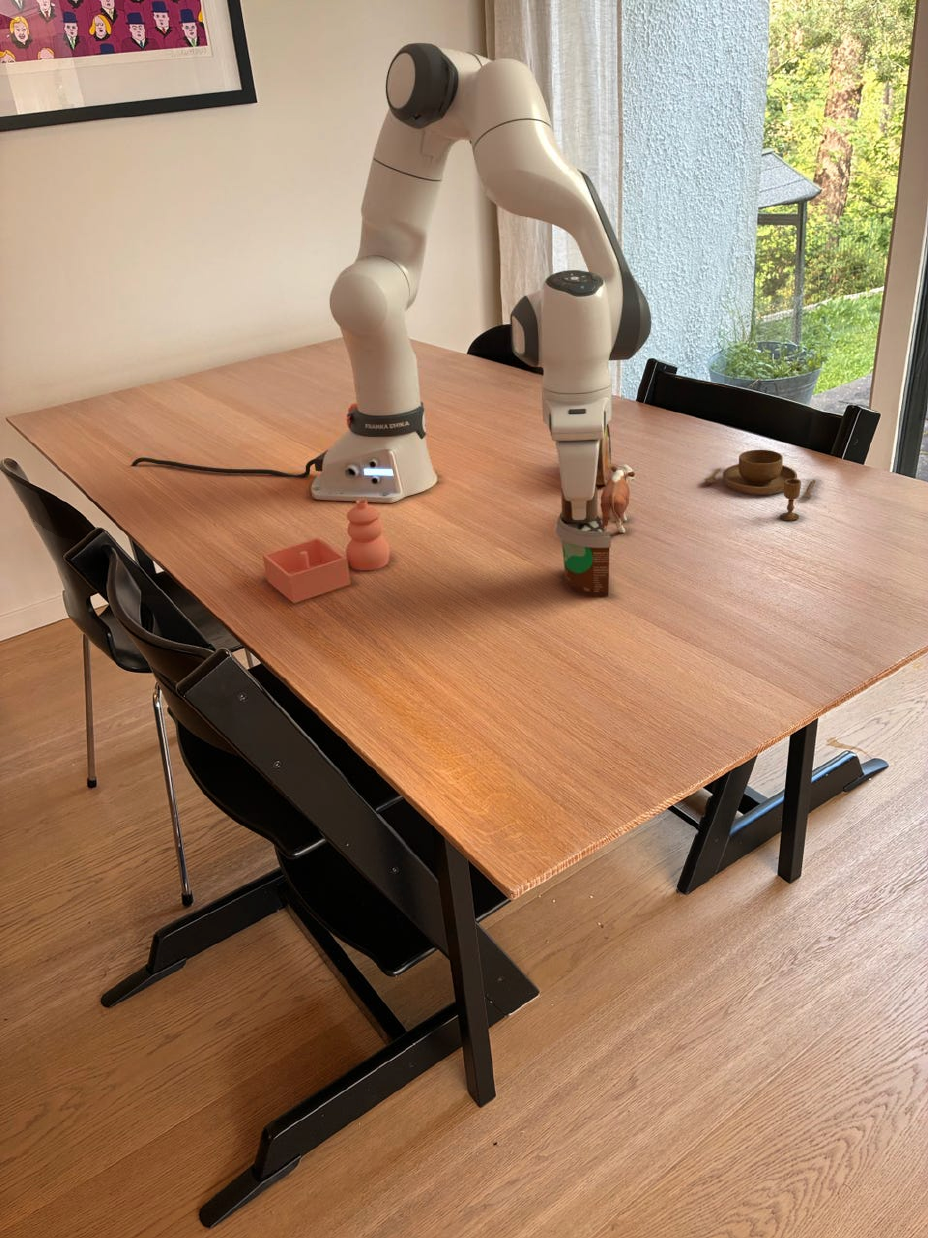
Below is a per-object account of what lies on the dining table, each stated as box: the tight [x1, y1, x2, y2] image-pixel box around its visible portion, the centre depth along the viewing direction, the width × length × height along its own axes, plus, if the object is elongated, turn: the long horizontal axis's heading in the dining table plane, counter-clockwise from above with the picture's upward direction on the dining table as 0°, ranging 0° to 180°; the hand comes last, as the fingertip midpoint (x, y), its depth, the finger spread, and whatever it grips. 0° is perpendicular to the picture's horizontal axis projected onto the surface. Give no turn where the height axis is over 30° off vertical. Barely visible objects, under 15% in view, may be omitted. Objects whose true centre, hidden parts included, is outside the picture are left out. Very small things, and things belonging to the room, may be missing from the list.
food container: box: [555, 511, 612, 597], centre depth 137 cm, size 12×6×10 cm, turn 5°
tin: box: [595, 423, 612, 486], centre depth 173 cm, size 15×3×8 cm, turn 168°
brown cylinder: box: [560, 485, 599, 524], centre depth 134 cm, size 5×5×4 cm
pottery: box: [261, 499, 391, 604], centre depth 146 cm, size 18×10×10 cm, turn 123°
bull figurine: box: [600, 464, 636, 534], centre depth 154 cm, size 4×13×8 cm, turn 161°
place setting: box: [704, 449, 816, 522], centre depth 162 cm, size 18×20×6 cm
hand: (578, 506), depth 134 cm, fingers open, 6 cm apart
